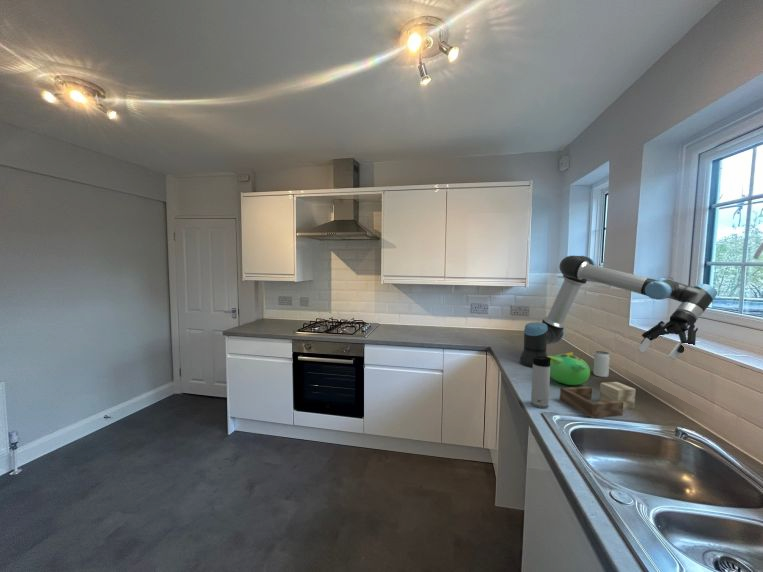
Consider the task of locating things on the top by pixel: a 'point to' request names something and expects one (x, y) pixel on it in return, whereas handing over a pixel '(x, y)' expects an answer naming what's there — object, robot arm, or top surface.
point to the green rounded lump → (569, 369)
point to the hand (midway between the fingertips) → (654, 354)
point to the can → (601, 364)
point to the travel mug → (540, 382)
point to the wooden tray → (581, 402)
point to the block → (618, 394)
